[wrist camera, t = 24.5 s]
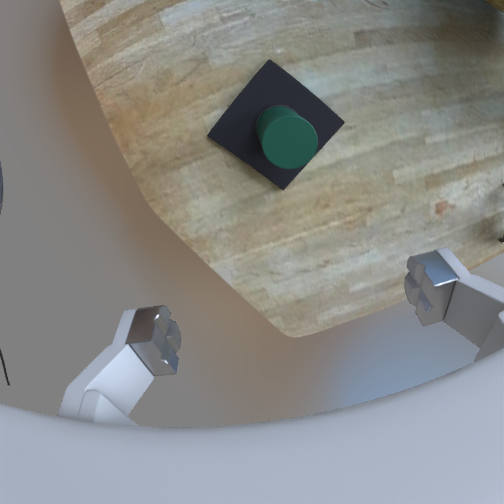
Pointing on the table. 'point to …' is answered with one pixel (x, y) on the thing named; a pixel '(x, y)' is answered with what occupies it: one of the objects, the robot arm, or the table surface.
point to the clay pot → (497, 4)
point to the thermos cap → (285, 136)
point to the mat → (258, 98)
